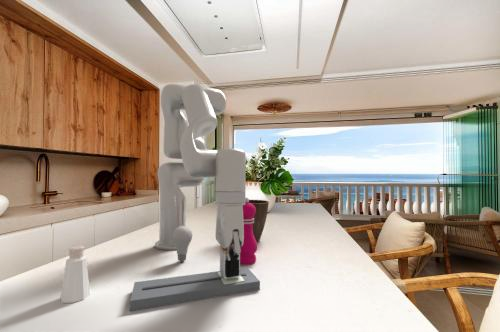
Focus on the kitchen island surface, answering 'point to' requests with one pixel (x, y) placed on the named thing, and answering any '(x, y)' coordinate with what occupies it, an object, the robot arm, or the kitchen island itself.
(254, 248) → the pepper mill
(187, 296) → the fader panel
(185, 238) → the lightbulb
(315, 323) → the kitchen island surface
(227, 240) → the robot arm
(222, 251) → the fader knob
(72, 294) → the pepper shaker
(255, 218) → the plant pot
